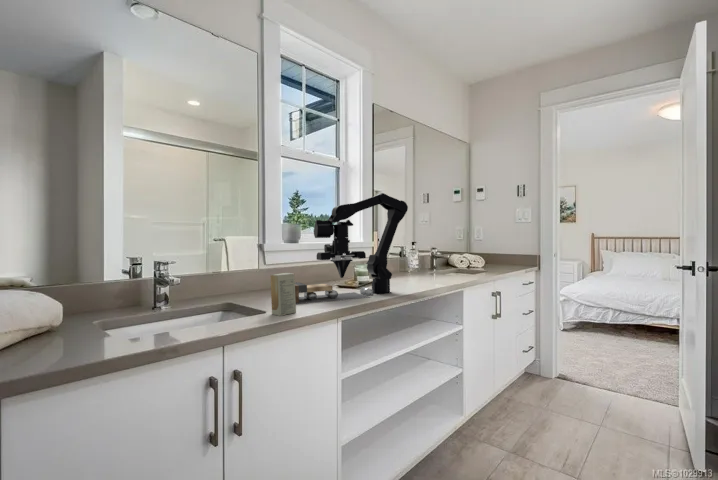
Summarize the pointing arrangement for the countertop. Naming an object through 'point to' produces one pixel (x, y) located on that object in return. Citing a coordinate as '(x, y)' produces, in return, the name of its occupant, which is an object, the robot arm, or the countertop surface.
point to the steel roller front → (331, 294)
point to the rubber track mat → (326, 299)
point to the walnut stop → (299, 290)
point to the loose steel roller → (310, 295)
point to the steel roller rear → (366, 291)
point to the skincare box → (283, 294)
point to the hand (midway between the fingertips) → (341, 277)
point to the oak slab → (319, 287)
